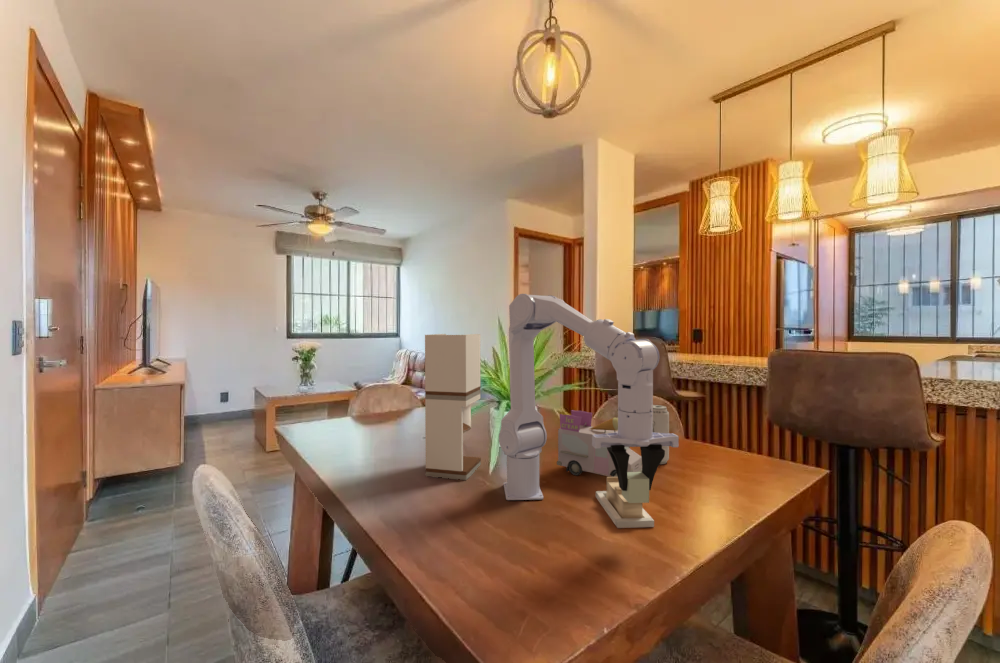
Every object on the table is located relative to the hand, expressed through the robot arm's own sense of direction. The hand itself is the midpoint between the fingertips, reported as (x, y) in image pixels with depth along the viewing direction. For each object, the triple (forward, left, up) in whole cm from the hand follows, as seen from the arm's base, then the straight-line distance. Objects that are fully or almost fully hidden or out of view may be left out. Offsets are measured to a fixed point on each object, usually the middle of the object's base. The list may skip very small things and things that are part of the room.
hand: (634, 488), depth 74 cm
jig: (-12, +2, -9) cm, 15 cm away
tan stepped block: (-11, +2, -9) cm, 15 cm away
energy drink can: (-42, +22, -9) cm, 48 cm away
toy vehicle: (-32, +3, -9) cm, 33 cm away
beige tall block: (-38, -33, -9) cm, 51 cm away
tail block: (0, 0, -2) cm, 2 cm away
